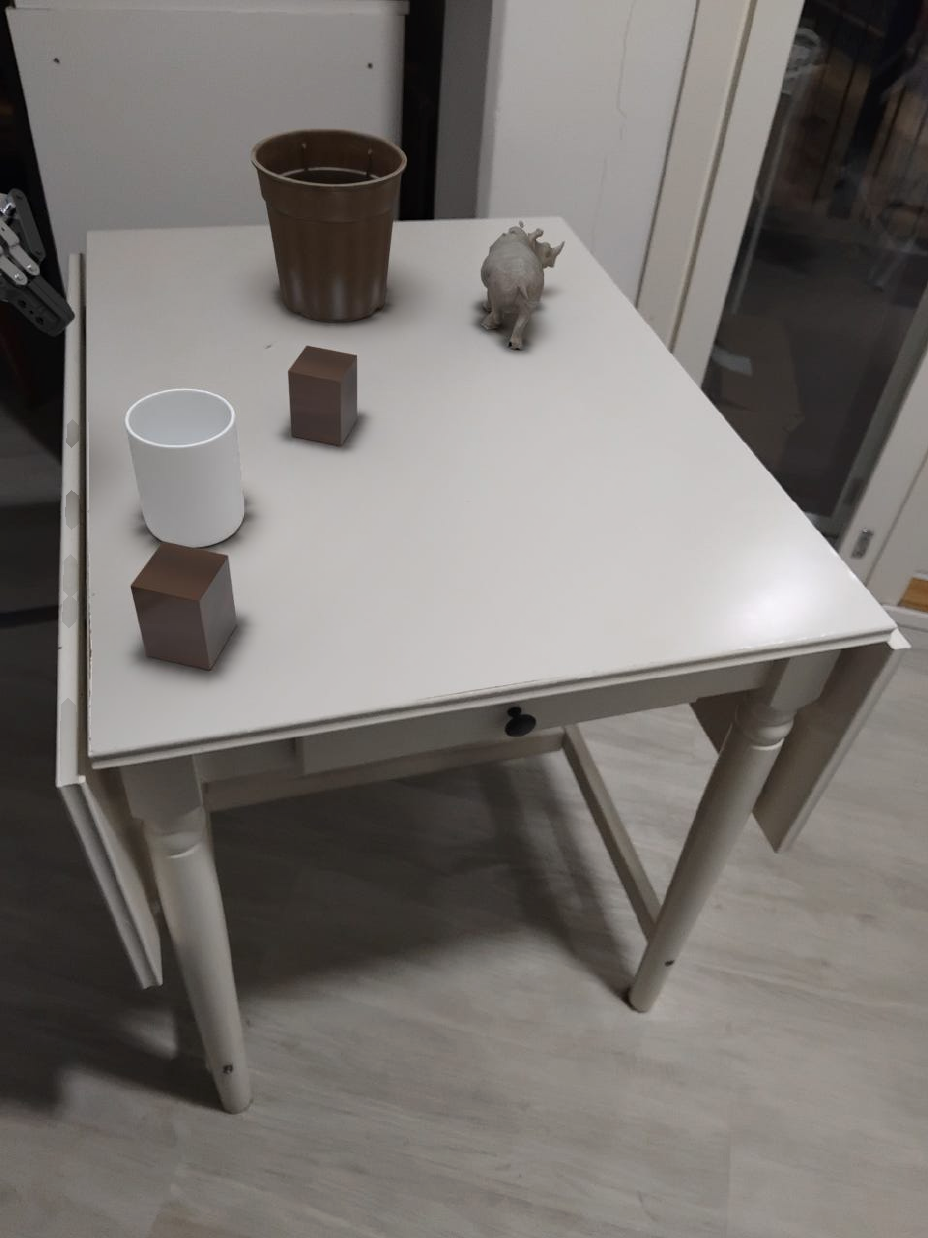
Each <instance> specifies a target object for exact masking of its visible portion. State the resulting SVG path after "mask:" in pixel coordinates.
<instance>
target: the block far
mask: <svg viewBox="0 0 928 1238" xmlns="http://www.w3.org/2000/svg"><path fill="white" fill-rule="evenodd" d="M287 378H288V382H287V383H288V399H289V414H290V416H289V417H290V433H291V437H294V438H299V439H304V440H309V441H314V442H318V443H323V444H328V445H334V446H338V447H342V446H343V444H344V442H345V440H346V438H347V437H348V436H349V434H350V432H351V430H352V428H353V426H354V425H355V423H356V421H357V420H358V355H357V354H353V353H348V352H342V351H337V350H331V349H327V348H321V347H318V346H312V345H305V347H304V348H303V350H302V351H301V352H300V353H299V355H298V356H297V358H296V359H295V360H294V362H293V364H292V365H291V366H290V367H289V369H288V370H287Z"/></svg>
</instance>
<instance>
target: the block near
mask: <svg viewBox="0 0 928 1238" xmlns="http://www.w3.org/2000/svg"><path fill="white" fill-rule="evenodd" d="M130 591H131V594H132V599H133V604H134V609H135V612H136V617H137V622H138V625H139V630H140V634H141V639H142V643H143V647H144V652H145V656H147V657H152V658H156V659H160V660H164V661H169V662H172V663H177V664H181V665H186V666H190V667H194V668H197V669H202V670H207V671H211V669H212V668H213V666H214V664H215V663H216V661H217V659H218V657H220V654H221V652H222V651H223V649H224V647H225V645H226V644H227V642H228V640H229V639H230V637H231V635H232V633H233V632H234V630H235V628H236V627H237V625H238V622H237V615H236V607H235V598H234V591H233V583H232V574H231V566H230V557H229V555H227V554H225V553H219V552H215V551H209V550H206V549H200V548H197V547H196V548H192V547H187V546H183V545H178V544H174V543H169V542H165V541H162V542H161V543H160V545H159V546H158V547H157V549H156V550H155V552H154V553H153V554H152V555H151V557H150V558H149V559H148V560H147V562H146V563H145V565H144V567H143V568H142V569H141V571H140V572H139V573H138V575H137V576H136V577H135V579H134V580H133V581H132V583H131V584H130Z"/></svg>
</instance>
